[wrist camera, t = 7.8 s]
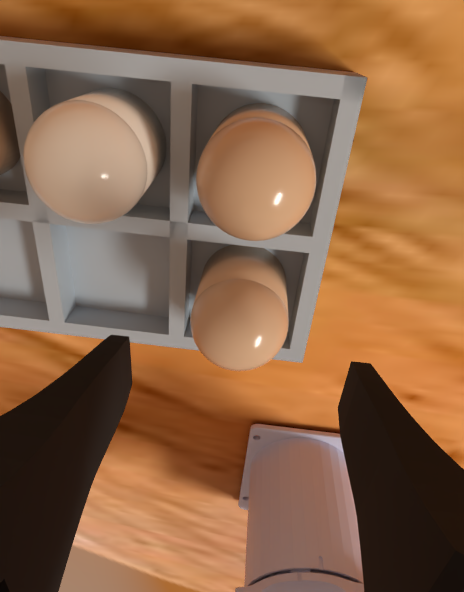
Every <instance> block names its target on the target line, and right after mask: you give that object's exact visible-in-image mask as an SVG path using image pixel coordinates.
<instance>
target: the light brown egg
mask: <svg viewBox="0 0 464 592" xmlns="http://www.w3.org/2000/svg"><path fill="white" fill-rule="evenodd" d="M23 156H24V167H25V172H26V175H27V178H28V181H29V183H30V185H31V187H32V189H33V190H34V192H35V193H36V195H37V196H38V197H39V199H40V200H41V201H42V202H43V203H44V204H45V205H46V206H47V207H48V208H50V209H51V210H52V211H54V212H55V213H56V214H58V215H60V216H62V217H64V218H66V219H68V220H71V221H74V222H79V223H84V224H100V223H106V222H110V221H113V220H115V219H117V218H119V217H121V216H123V215H125V214H126V213H127V212H129V211H130V210H131V209H132V208H133V207H134V206H135V205H136V204H137V202H138V201H139V200H140V198H141V197H142V196H143V194H144V193H145V192H146V190H147V189H148V188H149V186H150V185H151V184H152V182H153V181H154V180H155V178H156V177H157V176H158V174H159V173H160V171H161V169H162V167H163V164H164V162H165V157H166V138H165V133H164V130H163V127H162V125H161V122H160V121H159V119H158V117H157V115H156V114H155V113H154V111H153V110H152V109H151V108H150V107H149V105H148V104H146V103H145V102H144V101H143V100H142V99H140V98H139V97H137V96H136V95H134V94H132V93H130V92H127V91H124V90H121V89H116V88H104V89H99V90H95V91H92V92H90V93H87V94H84V95H81V96H78V97H75V98H72V99H70V100H67V101H64V102H61V103H59V104H56V105H54V106H52V107H51V108H49V109H47V110H46V111H44V112H43V113H42V114H41V115H40V116H39V117H38V118H37V119H36V121H35V122H34V123H33V124H32V126H31V128H30V130H29V132H28V135H27V137H26V140H25V145H24V155H23Z"/></svg>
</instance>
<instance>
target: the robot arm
mask: <svg viewBox="0 0 464 592" xmlns="http://www.w3.org/2000/svg"><path fill="white" fill-rule="evenodd" d="M131 386H132V371H131V355H130V339H129V336H120V335H110V336H108V337H107V338H106V339H105V340H104V341H102V342H101V343H100V344H99V345H98V346H97V347H96V348H94V349H93V350H92V351H91V352H90V353H89V354H87V355H86V356H85V357H84V358H83V359H82V360H80V361H79V362H78V363H77V364H76V365H74V366H73V367H72V368H71V369H69V370H68V371H67V372H66V373H65V374H63V375H62V376H61V377H59V378H58V379H57V380H55V381H54V382H53V383H51V384H50V385H49V386H47V387H46V388H45V389H43V390H42V391H40V392H39V393H38V394H36V395H35V396H33V397H32V398H30V399H29V400H27V401H25V402H24V403H22V404H20V405H19V406H17V407H16V408H14V409H12V410H11V411H9V412H7V413H5V414H3V415H2V416H0V592H58V591H59V587H60V584H61V580H62V577H63V574H64V570H65V567H66V563H67V560H68V557H69V553H70V550H71V547H72V543H73V540H74V537H75V534H76V531H77V528H78V524H79V521H80V518H81V515H82V512H83V509H84V506H85V503H86V500H87V497H88V494H89V491H90V488H91V485H92V483H93V480H94V478H95V475H96V473H97V470H98V468H99V466H100V464H101V461H102V459H103V457H104V455H105V453H106V450H107V448H108V446H109V444H110V441H111V439H112V437H113V435H114V433H115V430H116V428H117V426H118V424H119V421H120V419H121V417H122V415H123V412H124V409H125V406H126V403H127V400H128V397H129V393H130V390H131ZM338 414H339V427H340V434H338V433H329V432H321V431H313V430H305V429H297V428H289V427H280V426H272V425H264V424H254V425H252V426H251V428H250V433H249V440H248V446H247V452H246V459H245V465H244V471H243V477H242V484H241V490H240V496H239V504H238V505H239V507H240V508H241V509H244V510H248V525H247V545H246V565H245V585H244V587H237V588H236V589H235V592H464V469H463V468H461V467H460V466H459V465H458V464H457V463H456V462H455V461H454V460H453V459H452V458H451V457H450V456H449V455H448V454H446V453H445V452H444V451H443V450H442V449H441V448H440V447H439V446H438V445H437V444H436V443H435V442H434V441H433V440H432V439H431V438H430V436H429V435H428V434H427V433H426V432H425V431H424V430H423V429H422V428H421V427H420V425H419V424H418V423H417V422H416V421H415V420H414V419H413V417H412V416H411V415H410V414H409V413H408V411H407V410H406V409H405V408H404V407H403V405H402V404H401V403H400V402H399V400H398V399H397V398H396V397H395V395H394V394H393V393H392V391H391V390H390V389H389V387H388V386H387V385H386V383H385V382H384V381H383V379H382V378H381V377H380V375H379V374H378V373H377V371H376V370H375V369H374V368H373V366H372V365H371V364H370V363H361V362H352V361H351V364H350V368H349V371H348V375H347V378H346V381H345V385H344V388H343V392H342V395H341V399H340V402H339V406H338ZM255 435H258V436H255Z"/></svg>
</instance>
